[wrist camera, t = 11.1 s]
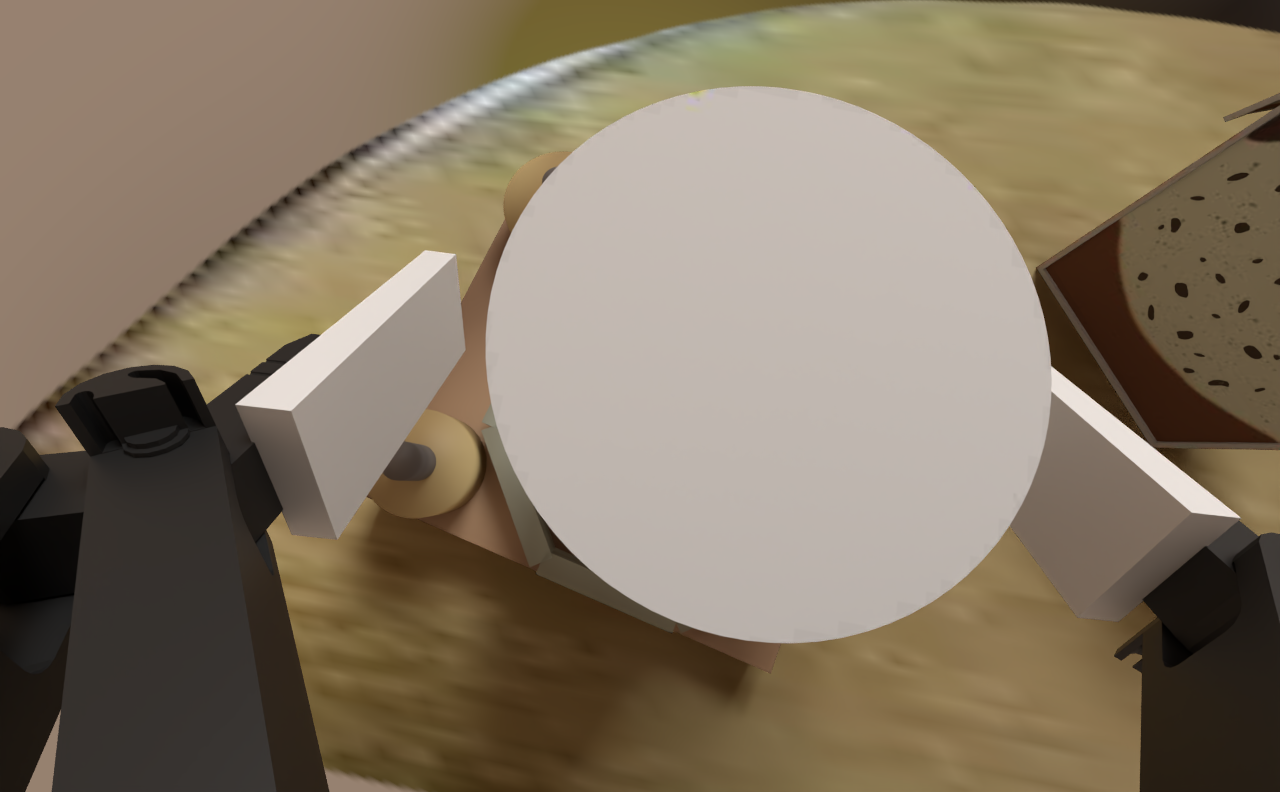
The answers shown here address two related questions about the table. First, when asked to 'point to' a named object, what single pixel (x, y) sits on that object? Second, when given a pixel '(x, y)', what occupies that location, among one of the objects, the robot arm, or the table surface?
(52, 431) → the table surface
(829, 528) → the tall round pillar
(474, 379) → the gear board
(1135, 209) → the food container
